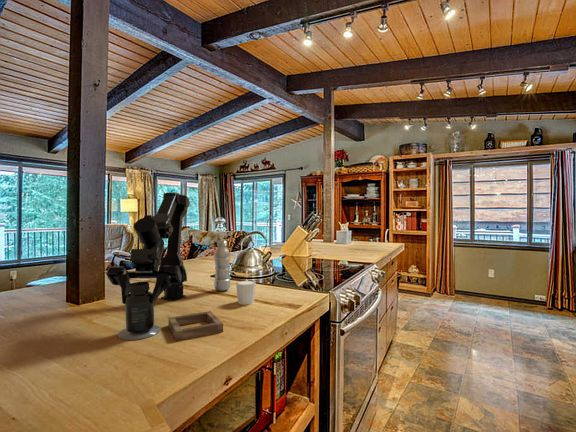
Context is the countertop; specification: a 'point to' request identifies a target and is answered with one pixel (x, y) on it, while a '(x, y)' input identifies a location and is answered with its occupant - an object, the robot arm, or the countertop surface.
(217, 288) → the plastic bottle
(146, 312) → the supplement bottle
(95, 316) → the countertop surface
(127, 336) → the slate coaster
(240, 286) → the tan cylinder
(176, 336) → the brown flat square frame
